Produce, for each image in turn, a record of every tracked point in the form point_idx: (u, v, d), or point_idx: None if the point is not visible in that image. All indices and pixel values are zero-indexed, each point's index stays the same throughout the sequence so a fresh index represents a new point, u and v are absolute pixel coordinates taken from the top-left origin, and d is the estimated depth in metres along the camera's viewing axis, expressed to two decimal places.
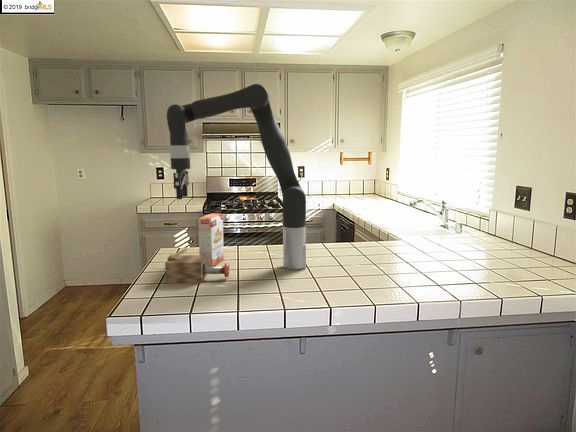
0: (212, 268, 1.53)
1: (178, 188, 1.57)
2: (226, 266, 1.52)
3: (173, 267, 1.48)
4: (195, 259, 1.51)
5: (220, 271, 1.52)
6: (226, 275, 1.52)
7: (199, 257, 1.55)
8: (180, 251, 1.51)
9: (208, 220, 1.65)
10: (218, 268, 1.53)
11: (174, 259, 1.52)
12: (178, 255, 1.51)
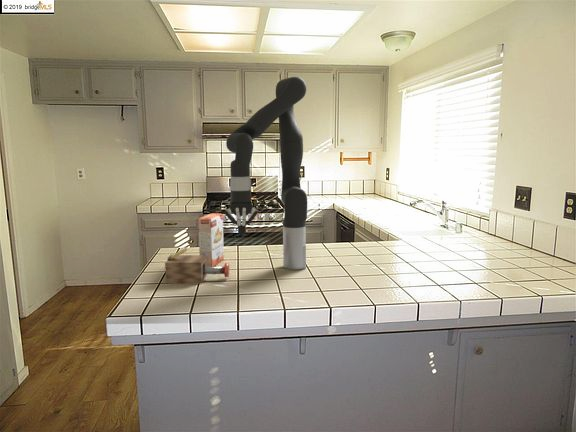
0: (212, 268, 1.53)
1: None
2: (226, 266, 1.52)
3: (173, 267, 1.48)
4: (195, 259, 1.51)
5: (220, 271, 1.52)
6: (226, 275, 1.52)
7: (199, 257, 1.55)
8: (180, 251, 1.51)
9: (208, 220, 1.65)
10: (218, 268, 1.53)
11: (174, 259, 1.52)
12: (178, 255, 1.51)
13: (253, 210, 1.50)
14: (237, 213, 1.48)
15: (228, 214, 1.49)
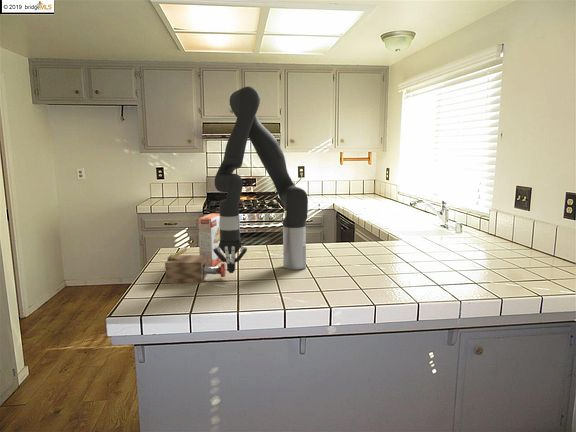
0: (208, 268, 1.53)
1: None
2: (222, 266, 1.52)
3: (173, 267, 1.48)
4: (195, 259, 1.51)
5: (216, 271, 1.52)
6: (222, 275, 1.52)
7: (199, 257, 1.55)
8: (180, 251, 1.51)
9: (208, 220, 1.65)
10: (214, 268, 1.53)
11: (174, 259, 1.52)
12: (178, 255, 1.51)
13: (242, 248, 1.52)
14: (226, 251, 1.51)
15: (217, 252, 1.51)
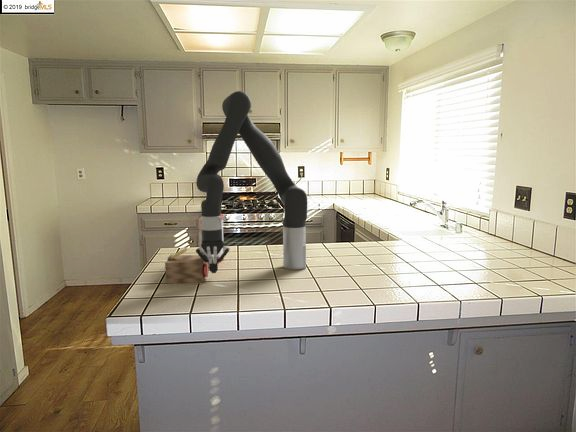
0: None
1: None
2: (205, 266, 1.52)
3: (173, 267, 1.48)
4: (195, 259, 1.51)
5: None
6: (205, 275, 1.52)
7: (199, 257, 1.55)
8: (180, 251, 1.51)
9: None
10: None
11: (174, 259, 1.52)
12: (178, 255, 1.51)
13: (224, 248, 1.52)
14: (208, 251, 1.51)
15: (199, 252, 1.51)
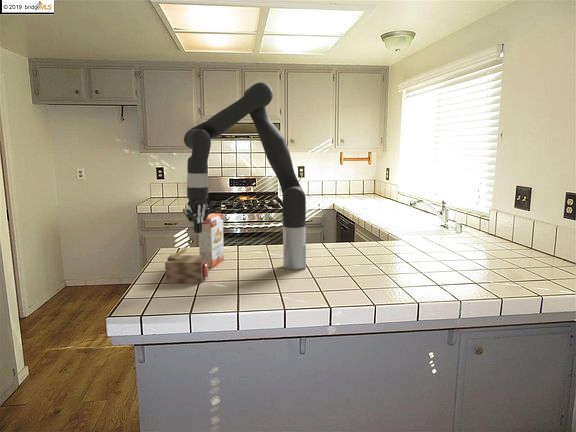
0: None
1: None
2: (205, 266, 1.52)
3: (173, 267, 1.48)
4: (195, 259, 1.51)
5: None
6: (205, 275, 1.52)
7: (199, 257, 1.55)
8: (180, 251, 1.51)
9: (208, 220, 1.65)
10: None
11: (174, 259, 1.52)
12: (178, 255, 1.51)
13: (207, 206, 1.52)
14: (198, 210, 1.47)
15: (191, 212, 1.44)
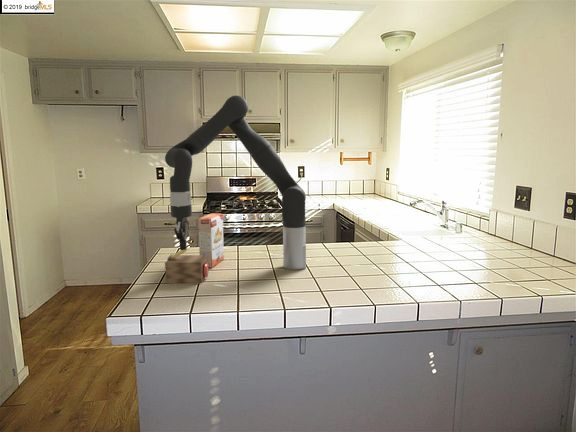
0: None
1: None
2: (205, 266, 1.52)
3: (173, 267, 1.48)
4: (195, 259, 1.51)
5: None
6: (205, 275, 1.52)
7: (199, 257, 1.55)
8: (180, 251, 1.51)
9: (208, 220, 1.65)
10: None
11: (174, 259, 1.52)
12: (178, 255, 1.51)
13: None
14: (185, 227, 1.50)
15: (182, 230, 1.46)
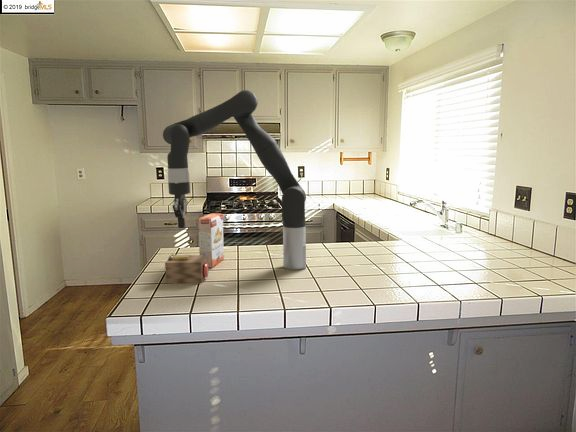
0: None
1: None
2: (205, 266, 1.52)
3: (173, 267, 1.48)
4: (195, 259, 1.51)
5: None
6: (205, 275, 1.52)
7: (199, 257, 1.55)
8: (183, 256, 1.51)
9: (208, 220, 1.65)
10: None
11: None
12: (179, 259, 1.51)
13: None
14: (184, 205, 1.48)
15: (180, 207, 1.45)
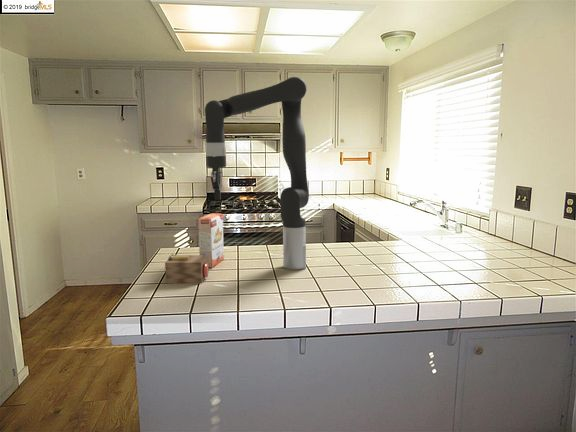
0: None
1: None
2: (205, 266, 1.52)
3: (173, 267, 1.48)
4: (195, 259, 1.51)
5: None
6: (205, 275, 1.52)
7: (199, 257, 1.55)
8: (183, 256, 1.51)
9: (208, 220, 1.65)
10: None
11: None
12: (179, 259, 1.51)
13: None
14: (220, 178, 1.57)
15: (218, 179, 1.53)
